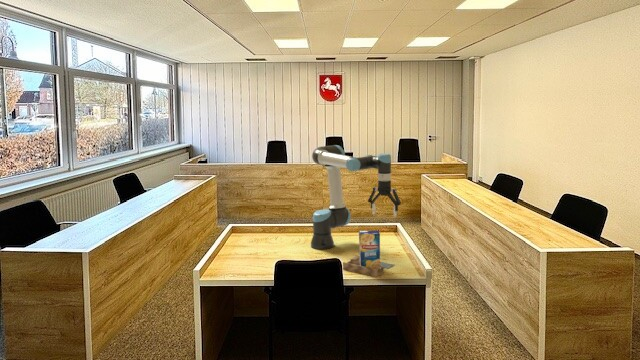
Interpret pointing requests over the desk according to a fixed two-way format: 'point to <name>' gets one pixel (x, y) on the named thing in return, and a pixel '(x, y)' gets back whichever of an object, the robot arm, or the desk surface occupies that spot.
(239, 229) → the desk surface
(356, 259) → the offcut top
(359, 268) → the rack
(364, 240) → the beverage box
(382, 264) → the pad
